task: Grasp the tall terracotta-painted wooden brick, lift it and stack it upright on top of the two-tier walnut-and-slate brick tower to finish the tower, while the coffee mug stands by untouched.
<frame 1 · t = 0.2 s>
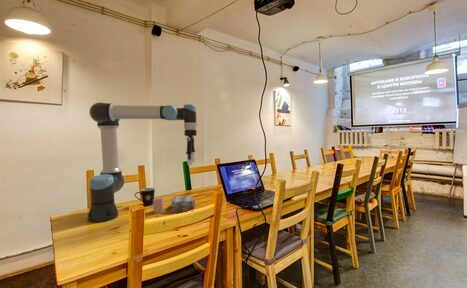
hand: (191, 163, 154), 27 cm above the table, fingers open, 13 cm apart
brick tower: (183, 208, 152), on the table
top brick: (158, 211, 146), on the table
coffee mug: (146, 204, 161), on the table
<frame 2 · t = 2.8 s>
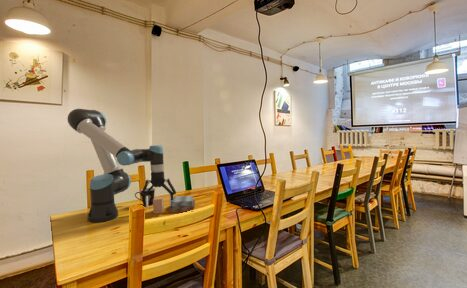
hand: (159, 206, 146), 3 cm above the table, fingers open, 13 cm apart
nothing on the table moved.
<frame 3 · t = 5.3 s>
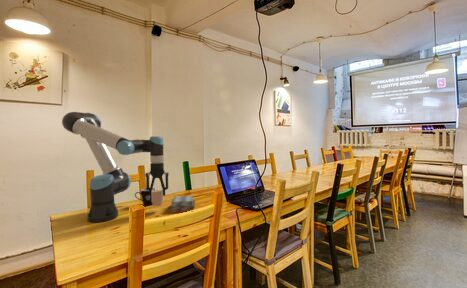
hand: (157, 201, 146), 6 cm above the table, fingers closed on top brick, 5 cm apart
top brick: (157, 204, 146), point 4 cm above the table, touching gripper
everything else where it was.
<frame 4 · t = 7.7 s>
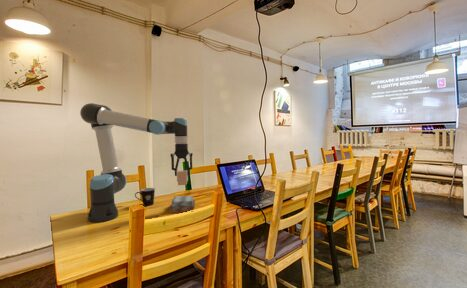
hand: (182, 180, 151), 17 cm above the table, fingers closed on top brick, 5 cm apart
top brick: (182, 184, 151), point 15 cm above the table, touching gripper
everything else where it was.
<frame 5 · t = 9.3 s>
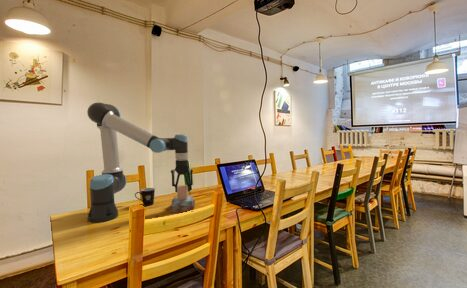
hand: (182, 196, 151), 7 cm above the table, fingers closed on top brick, 5 cm apart
top brick: (183, 198, 151), point 6 cm above the table, touching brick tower, gripper
everything else where it was.
when the fingers open (6 cm above the table, at t = 10.2 s): top brick stays where it is, resting on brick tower.
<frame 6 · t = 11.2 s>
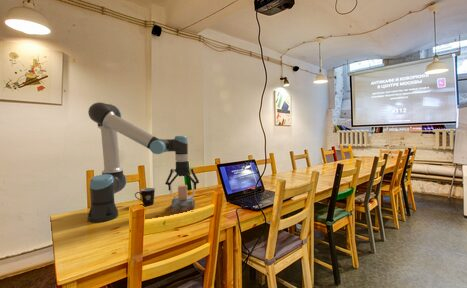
hand: (182, 195, 151), 8 cm above the table, fingers open, 13 cm apart
top brick: (183, 198, 151), point 6 cm above the table, touching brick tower
everything else where it was.
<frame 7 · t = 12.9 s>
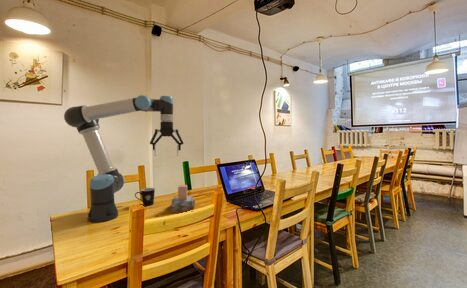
hand: (166, 155, 152), 33 cm above the table, fingers open, 13 cm apart
nothing on the table moved.
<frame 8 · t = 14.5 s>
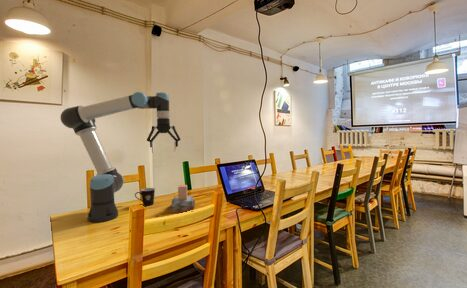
hand: (164, 152, 153), 35 cm above the table, fingers open, 13 cm apart
nothing on the table moved.
at the end: top brick inside the target area on the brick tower (0.1 cm from its centre), point 6.0 cm above the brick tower's base; top brick tilted 0°; the gripper is holding nothing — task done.
